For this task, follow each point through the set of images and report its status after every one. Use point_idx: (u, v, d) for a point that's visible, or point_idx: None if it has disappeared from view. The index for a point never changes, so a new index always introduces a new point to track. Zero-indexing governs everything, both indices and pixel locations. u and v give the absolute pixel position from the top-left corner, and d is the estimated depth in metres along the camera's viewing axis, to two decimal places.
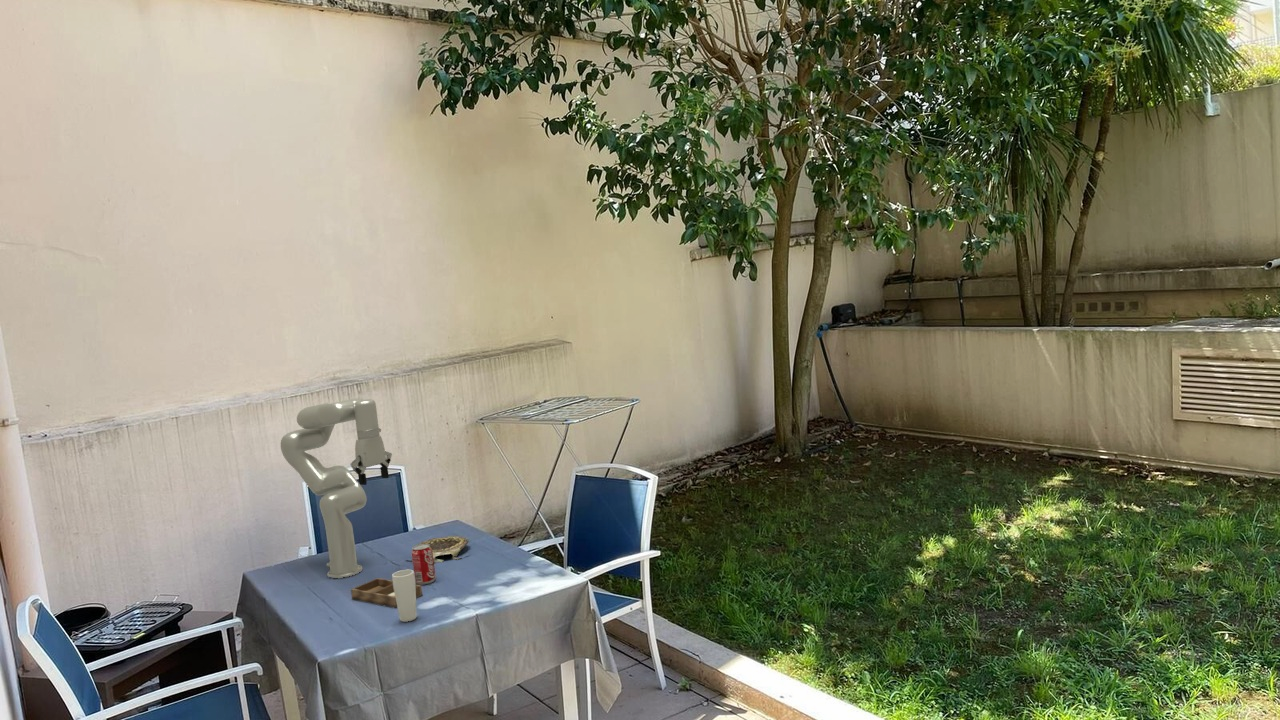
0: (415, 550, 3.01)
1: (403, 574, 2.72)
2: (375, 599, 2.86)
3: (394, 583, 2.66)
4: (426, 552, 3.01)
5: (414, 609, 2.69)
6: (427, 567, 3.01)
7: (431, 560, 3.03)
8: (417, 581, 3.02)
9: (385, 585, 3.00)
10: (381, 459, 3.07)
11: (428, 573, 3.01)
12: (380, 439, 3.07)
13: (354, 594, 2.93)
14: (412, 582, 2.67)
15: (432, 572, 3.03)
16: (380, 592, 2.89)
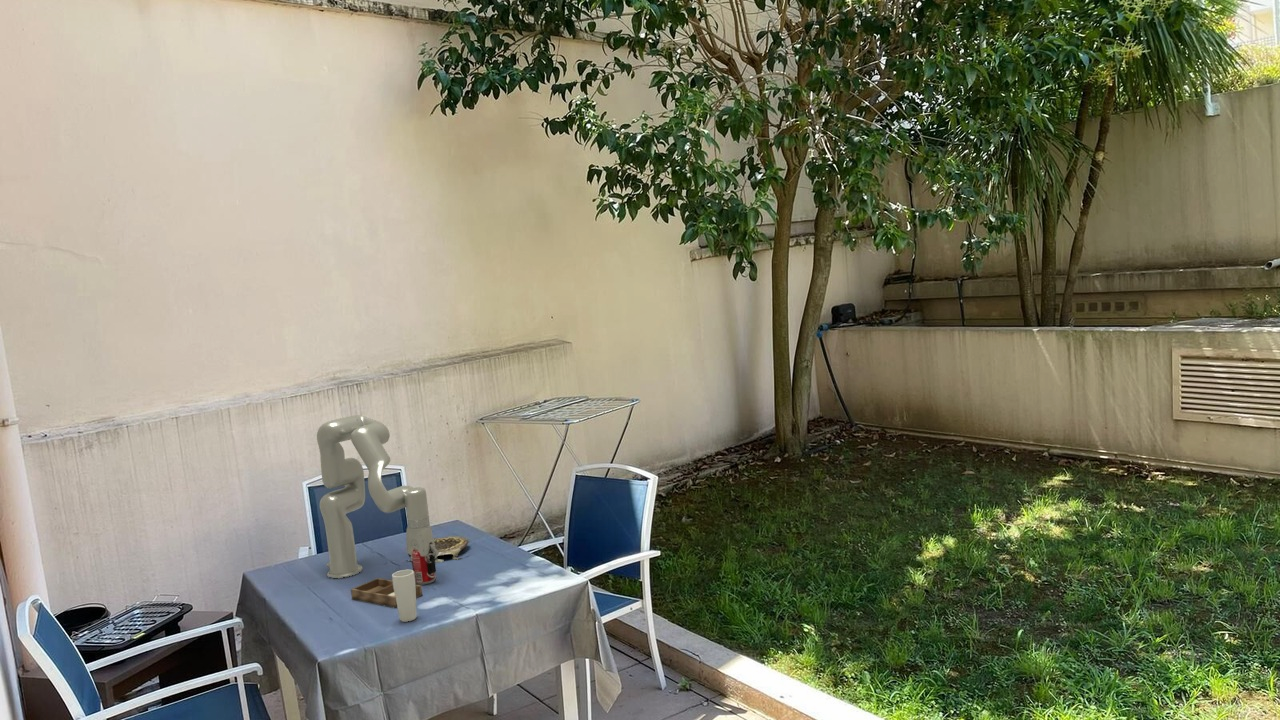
0: (415, 550, 3.01)
1: (403, 574, 2.72)
2: (375, 599, 2.86)
3: (394, 583, 2.66)
4: None
5: (414, 609, 2.69)
6: None
7: None
8: (417, 581, 3.02)
9: (385, 585, 3.00)
10: None
11: None
12: None
13: (354, 594, 2.93)
14: (412, 582, 2.67)
15: None
16: (380, 592, 2.89)
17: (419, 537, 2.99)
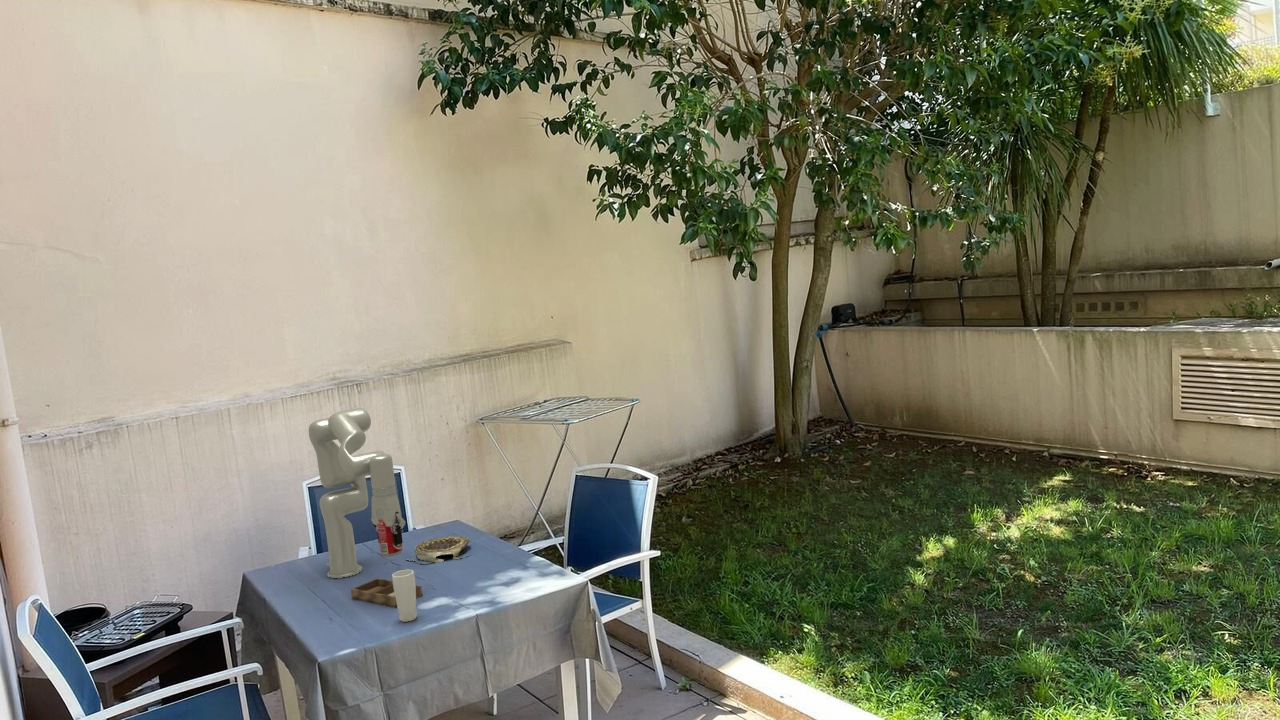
0: (380, 520, 2.84)
1: (403, 574, 2.72)
2: (375, 599, 2.86)
3: (394, 583, 2.66)
4: None
5: (414, 609, 2.69)
6: None
7: None
8: (383, 553, 2.85)
9: (385, 585, 3.00)
10: None
11: None
12: None
13: (354, 594, 2.93)
14: (412, 582, 2.67)
15: None
16: (380, 592, 2.89)
17: (384, 506, 2.83)
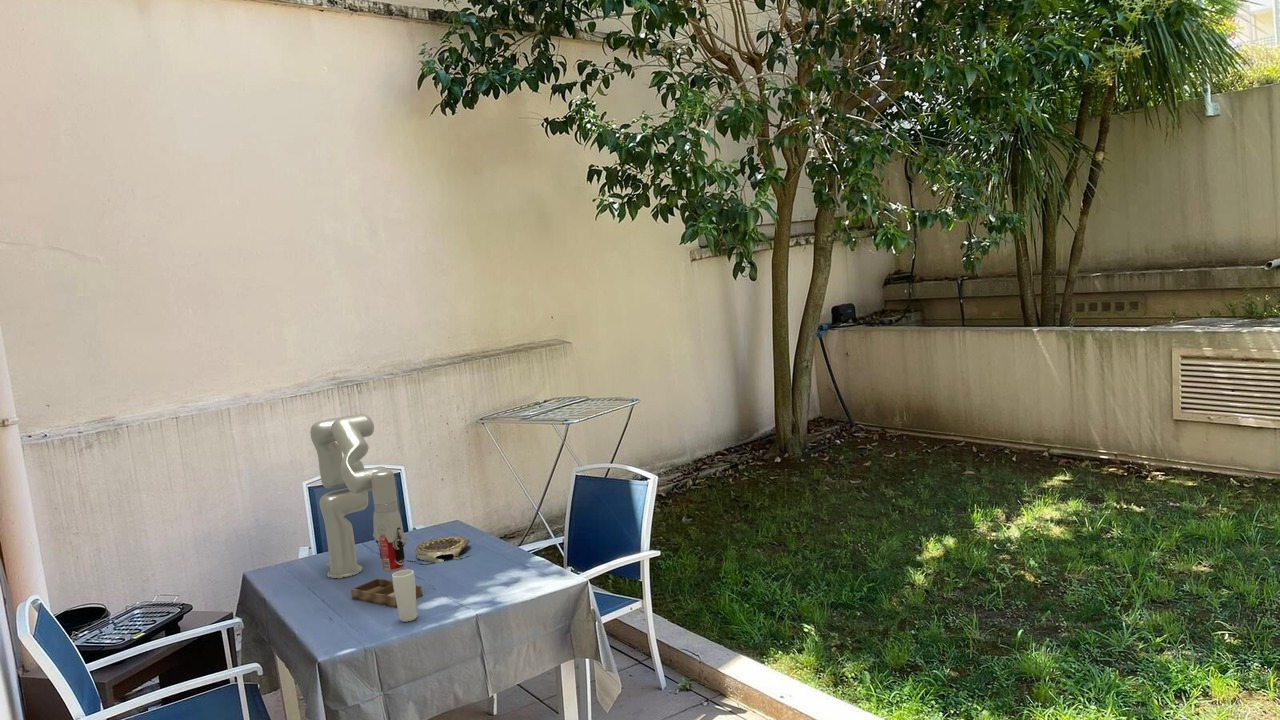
0: (382, 536, 2.84)
1: (403, 574, 2.72)
2: (375, 599, 2.86)
3: (394, 583, 2.66)
4: None
5: (414, 609, 2.69)
6: None
7: None
8: (385, 568, 2.85)
9: (385, 585, 3.00)
10: None
11: None
12: None
13: (354, 594, 2.93)
14: (412, 582, 2.67)
15: None
16: (380, 592, 2.89)
17: (386, 522, 2.83)
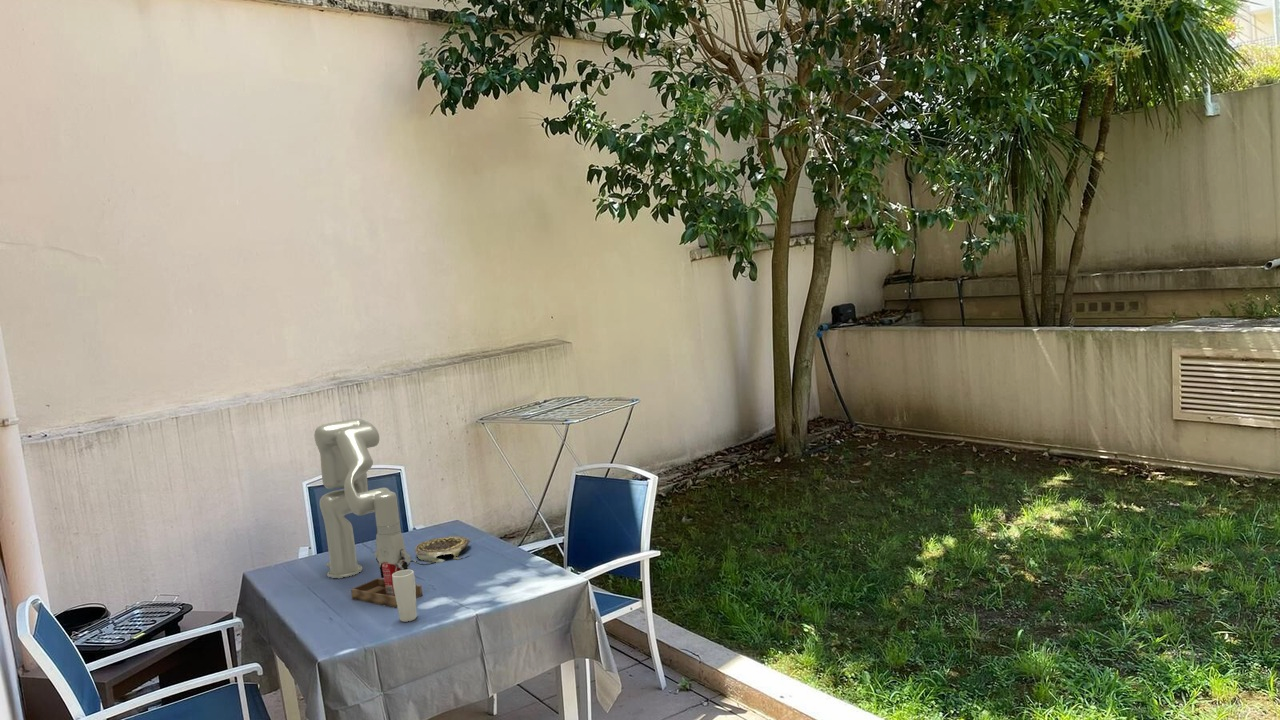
0: (385, 563, 2.85)
1: (403, 574, 2.72)
2: (375, 599, 2.86)
3: (394, 583, 2.66)
4: (396, 565, 2.85)
5: (414, 609, 2.69)
6: None
7: None
8: None
9: None
10: None
11: None
12: None
13: (354, 594, 2.93)
14: (412, 582, 2.67)
15: None
16: (380, 592, 2.89)
17: (389, 544, 2.84)
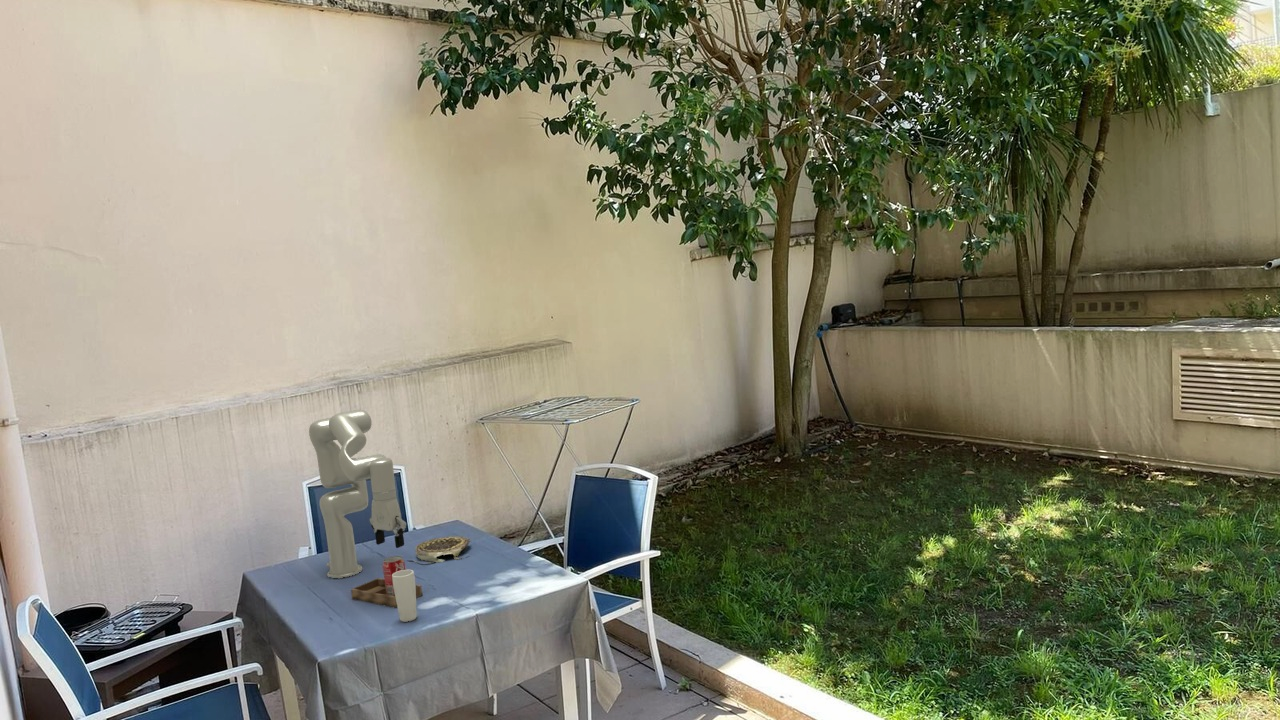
0: (386, 563, 2.85)
1: (403, 574, 2.72)
2: (375, 599, 2.86)
3: (394, 583, 2.66)
4: (397, 565, 2.85)
5: (414, 609, 2.69)
6: None
7: None
8: None
9: None
10: None
11: None
12: None
13: (354, 594, 2.93)
14: (412, 582, 2.67)
15: None
16: (380, 592, 2.89)
17: (384, 510, 2.83)
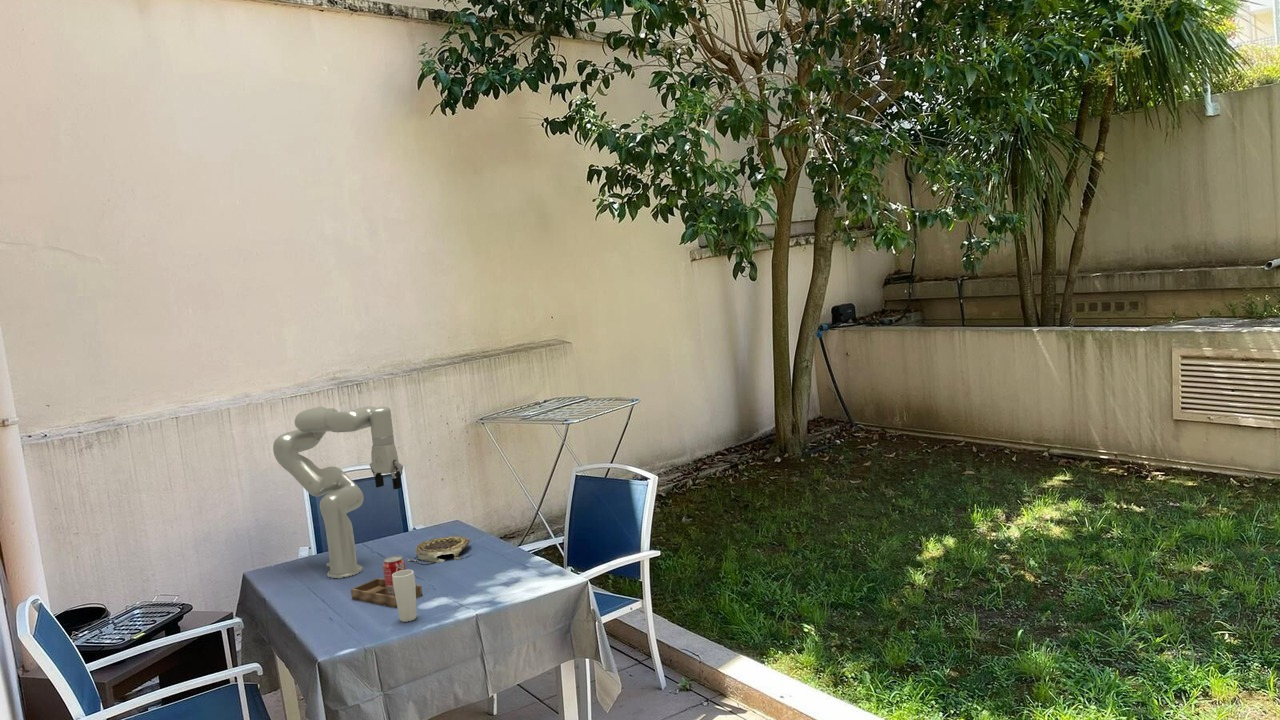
0: (386, 563, 2.85)
1: (403, 574, 2.72)
2: (375, 599, 2.86)
3: (394, 583, 2.66)
4: (397, 565, 2.85)
5: (414, 609, 2.69)
6: None
7: None
8: None
9: None
10: None
11: None
12: None
13: (354, 594, 2.93)
14: (412, 582, 2.67)
15: None
16: (380, 592, 2.89)
17: (383, 454, 3.07)
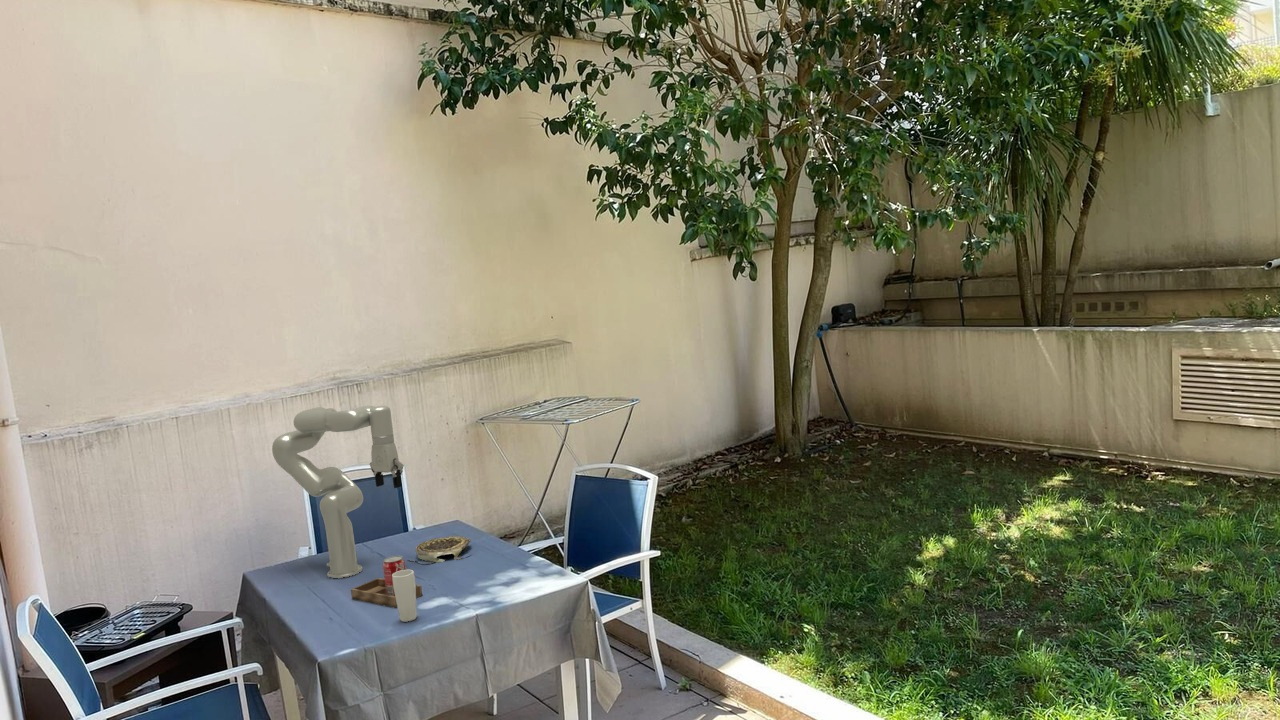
0: (386, 563, 2.85)
1: (403, 574, 2.72)
2: (375, 599, 2.86)
3: (394, 583, 2.66)
4: (397, 565, 2.85)
5: (414, 609, 2.69)
6: None
7: None
8: None
9: None
10: None
11: None
12: None
13: (354, 594, 2.93)
14: (412, 582, 2.67)
15: None
16: (380, 592, 2.89)
17: (383, 453, 3.07)
